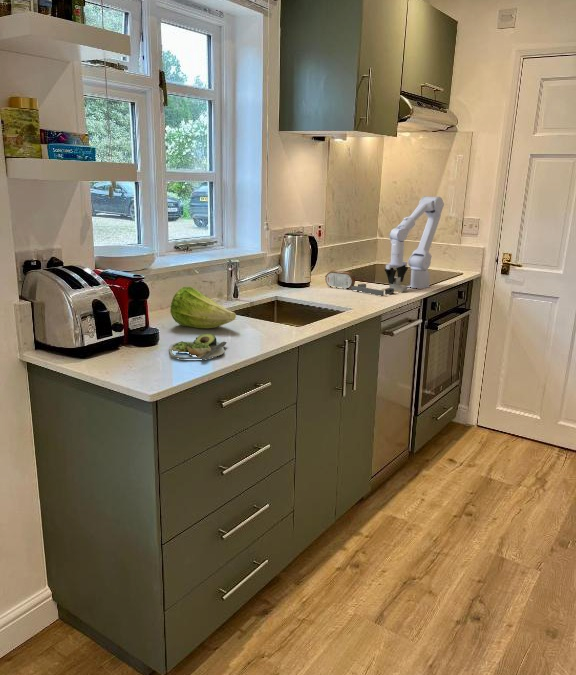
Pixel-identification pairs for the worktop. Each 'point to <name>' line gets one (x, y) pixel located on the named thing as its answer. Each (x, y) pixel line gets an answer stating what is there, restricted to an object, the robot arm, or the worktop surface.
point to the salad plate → (199, 347)
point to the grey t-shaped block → (398, 285)
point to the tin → (340, 279)
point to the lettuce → (198, 310)
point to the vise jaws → (372, 290)
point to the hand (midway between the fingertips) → (395, 282)
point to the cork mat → (394, 290)
